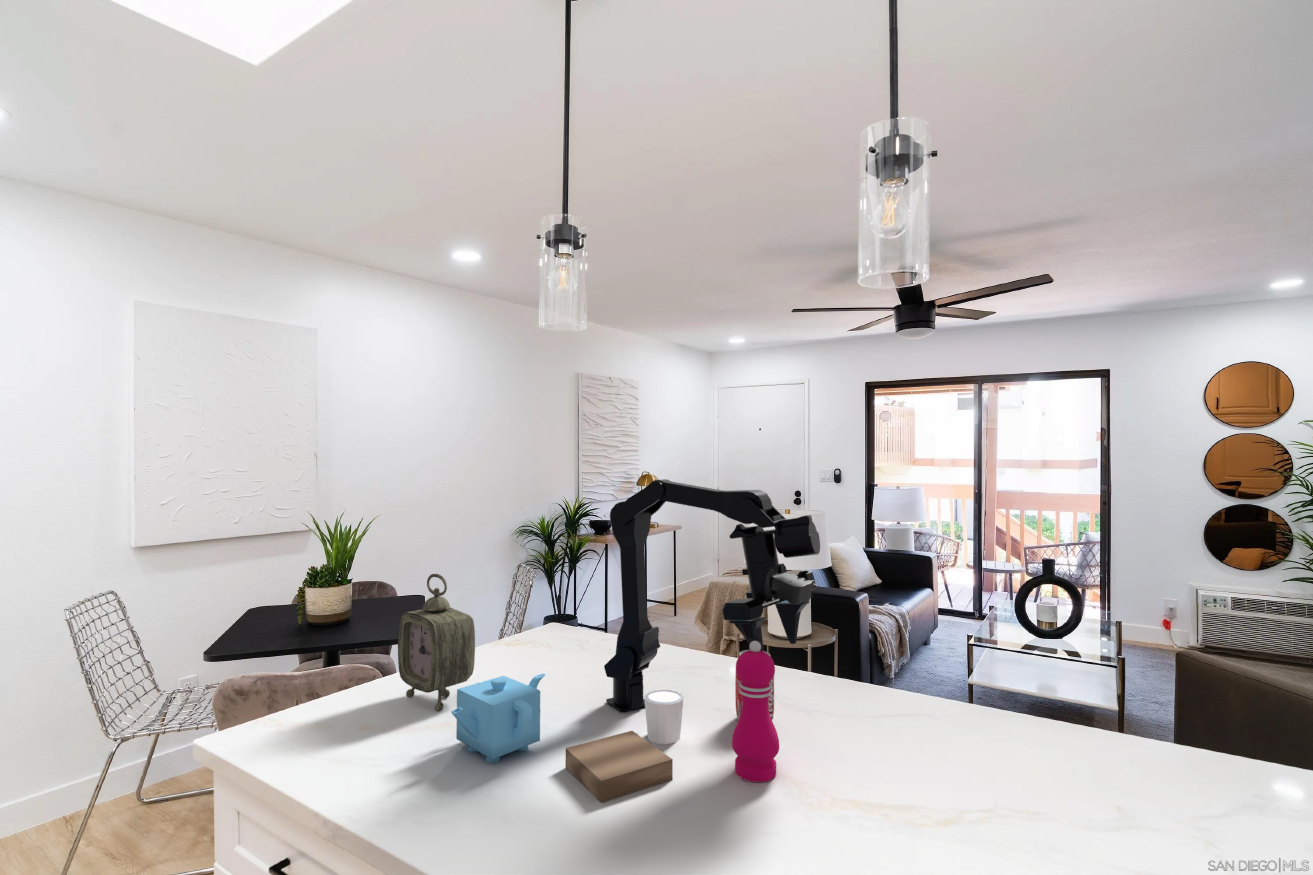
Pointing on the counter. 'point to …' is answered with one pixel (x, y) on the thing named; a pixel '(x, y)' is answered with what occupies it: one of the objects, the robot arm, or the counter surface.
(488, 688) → the teapot
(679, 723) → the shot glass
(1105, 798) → the counter surface
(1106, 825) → the counter surface
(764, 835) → the counter surface
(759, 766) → the pepper mill
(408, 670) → the tabletop clock
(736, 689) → the soda can
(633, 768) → the walnut base block
